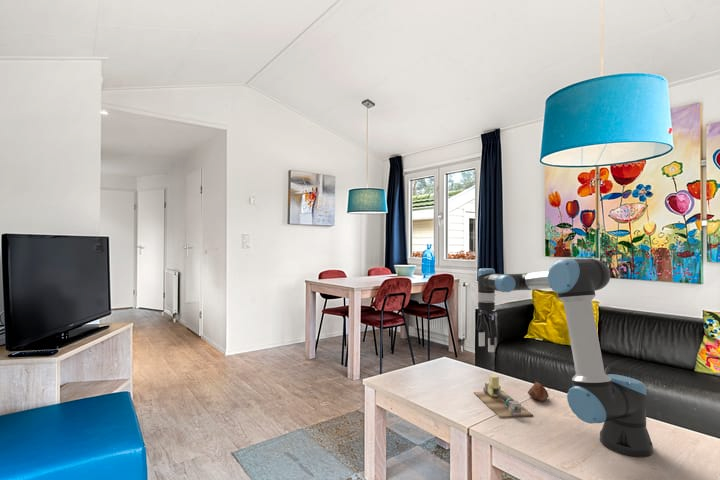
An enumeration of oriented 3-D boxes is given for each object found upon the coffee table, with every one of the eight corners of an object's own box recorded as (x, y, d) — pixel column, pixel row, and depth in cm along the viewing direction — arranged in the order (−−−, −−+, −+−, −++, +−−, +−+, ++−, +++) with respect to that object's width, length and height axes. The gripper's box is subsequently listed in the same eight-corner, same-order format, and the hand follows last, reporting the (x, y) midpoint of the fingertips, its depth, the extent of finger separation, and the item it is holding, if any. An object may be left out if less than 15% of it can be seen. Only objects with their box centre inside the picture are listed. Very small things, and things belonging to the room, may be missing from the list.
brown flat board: (533, 416, 158) (533, 403, 158) (499, 418, 157) (499, 404, 157) (502, 392, 184) (502, 380, 184) (473, 393, 182) (473, 381, 182)
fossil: (539, 398, 168) (533, 374, 174) (522, 401, 174) (517, 378, 179) (555, 403, 174) (550, 380, 180) (538, 406, 180) (533, 383, 185)
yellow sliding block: (500, 396, 175) (500, 377, 176) (491, 396, 175) (491, 377, 175) (496, 392, 179) (496, 374, 180) (487, 393, 179) (487, 374, 179)
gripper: (505, 304, 175) (505, 355, 175) (483, 297, 197) (484, 342, 197) (489, 305, 174) (489, 355, 174) (469, 298, 196) (469, 343, 196)
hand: (486, 348), depth 185 cm, fingers open, 10 cm apart
